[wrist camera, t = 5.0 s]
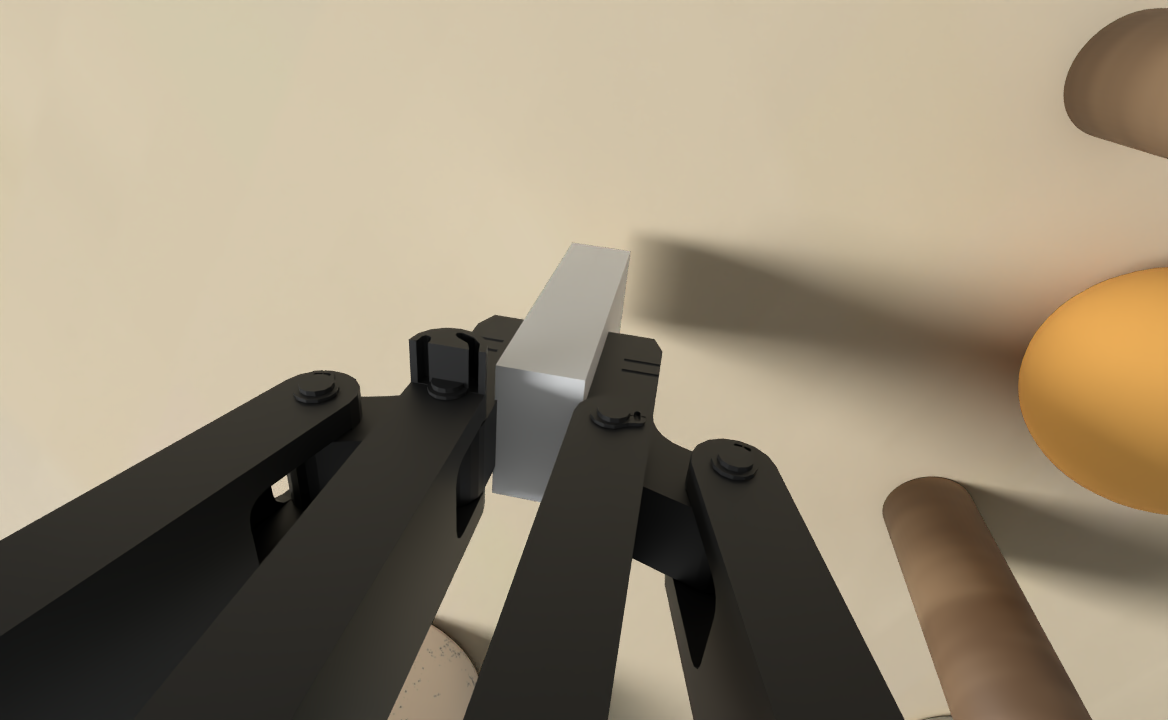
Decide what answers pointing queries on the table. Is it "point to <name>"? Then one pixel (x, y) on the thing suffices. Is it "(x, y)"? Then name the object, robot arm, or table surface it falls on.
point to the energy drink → (941, 718)
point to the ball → (1105, 389)
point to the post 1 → (974, 610)
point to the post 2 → (1124, 83)
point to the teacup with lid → (436, 682)
